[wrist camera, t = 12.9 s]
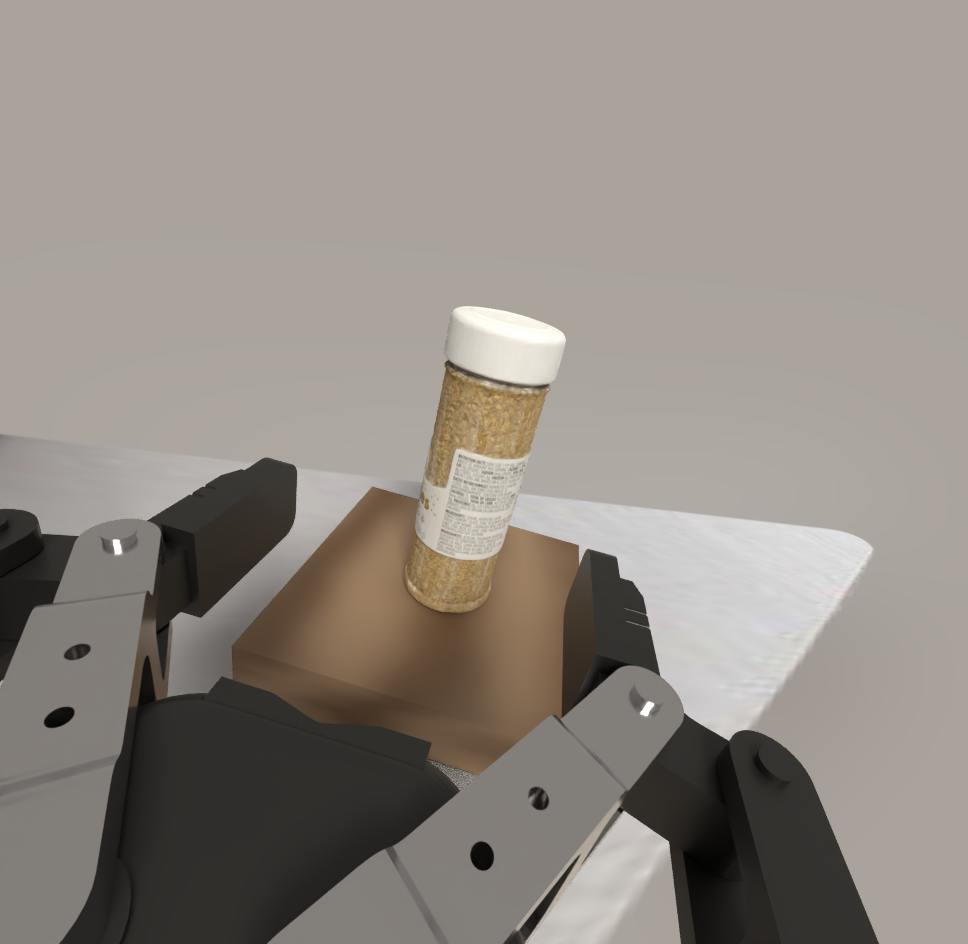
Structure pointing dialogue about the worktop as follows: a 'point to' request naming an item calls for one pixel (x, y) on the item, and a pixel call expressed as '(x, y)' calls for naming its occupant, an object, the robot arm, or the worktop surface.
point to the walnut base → (415, 639)
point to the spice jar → (478, 452)
